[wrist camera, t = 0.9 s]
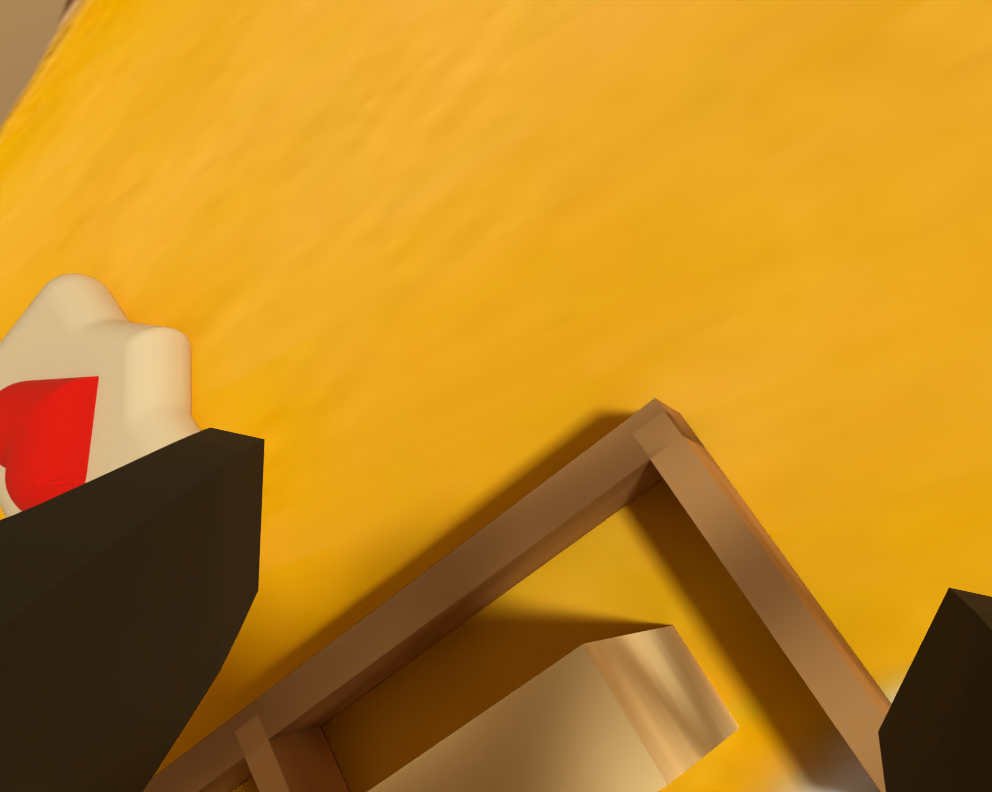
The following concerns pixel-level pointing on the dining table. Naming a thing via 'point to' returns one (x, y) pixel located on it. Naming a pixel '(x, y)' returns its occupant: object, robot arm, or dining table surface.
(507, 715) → the tan wooden block
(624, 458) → the rack
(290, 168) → the dining table surface
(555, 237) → the dining table surface
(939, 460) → the dining table surface
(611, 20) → the dining table surface
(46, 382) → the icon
